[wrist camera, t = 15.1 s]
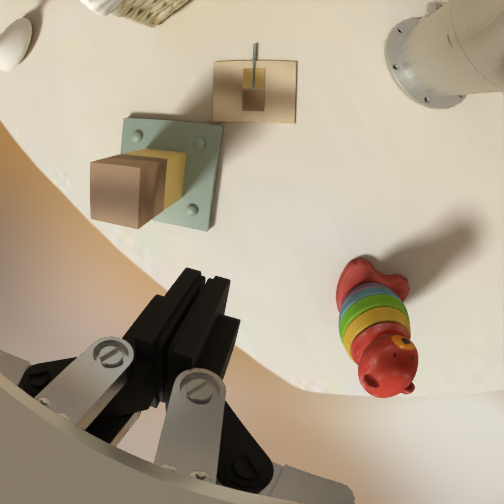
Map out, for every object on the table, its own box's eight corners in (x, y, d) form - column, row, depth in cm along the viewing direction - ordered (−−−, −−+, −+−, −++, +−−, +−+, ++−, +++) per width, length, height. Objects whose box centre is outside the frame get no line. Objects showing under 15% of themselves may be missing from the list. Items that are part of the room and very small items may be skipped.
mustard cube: (145, 148, 36) (121, 154, 30) (186, 153, 35) (167, 159, 30) (142, 191, 38) (119, 202, 33) (182, 197, 38) (163, 210, 32)
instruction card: (215, 46, 30) (214, 45, 30) (296, 45, 28) (296, 44, 28) (213, 121, 34) (212, 122, 34) (294, 123, 33) (294, 123, 33)
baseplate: (127, 117, 35) (122, 118, 34) (223, 125, 34) (220, 126, 33) (122, 211, 41) (117, 214, 40) (209, 228, 40) (206, 232, 39)
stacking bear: (413, 280, 39) (458, 364, 23) (378, 330, 43) (400, 421, 27) (352, 253, 38) (380, 340, 22) (320, 309, 43) (323, 406, 27)
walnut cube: (121, 154, 30) (90, 162, 25) (167, 159, 30) (140, 167, 24) (120, 202, 33) (90, 218, 27) (163, 210, 32) (138, 229, 27)
